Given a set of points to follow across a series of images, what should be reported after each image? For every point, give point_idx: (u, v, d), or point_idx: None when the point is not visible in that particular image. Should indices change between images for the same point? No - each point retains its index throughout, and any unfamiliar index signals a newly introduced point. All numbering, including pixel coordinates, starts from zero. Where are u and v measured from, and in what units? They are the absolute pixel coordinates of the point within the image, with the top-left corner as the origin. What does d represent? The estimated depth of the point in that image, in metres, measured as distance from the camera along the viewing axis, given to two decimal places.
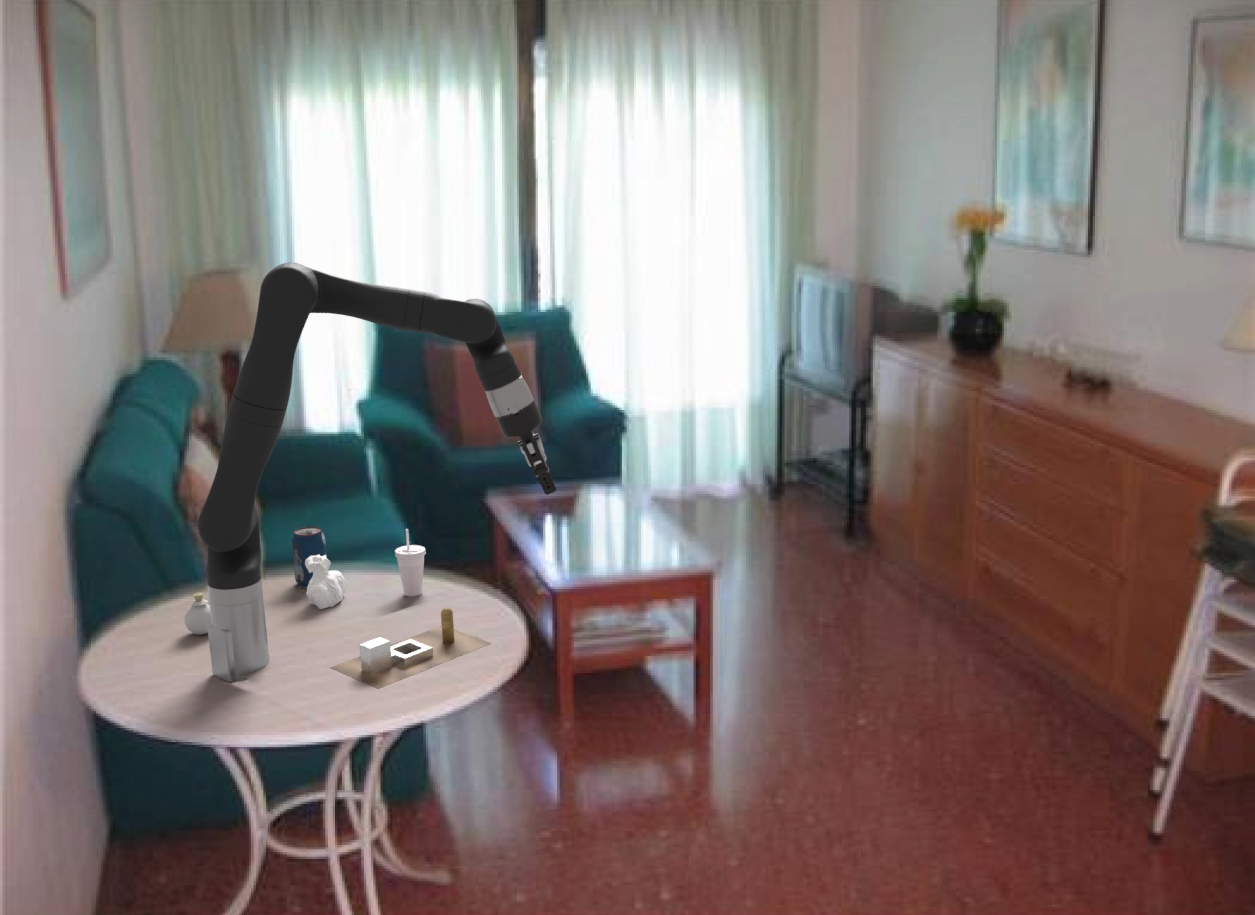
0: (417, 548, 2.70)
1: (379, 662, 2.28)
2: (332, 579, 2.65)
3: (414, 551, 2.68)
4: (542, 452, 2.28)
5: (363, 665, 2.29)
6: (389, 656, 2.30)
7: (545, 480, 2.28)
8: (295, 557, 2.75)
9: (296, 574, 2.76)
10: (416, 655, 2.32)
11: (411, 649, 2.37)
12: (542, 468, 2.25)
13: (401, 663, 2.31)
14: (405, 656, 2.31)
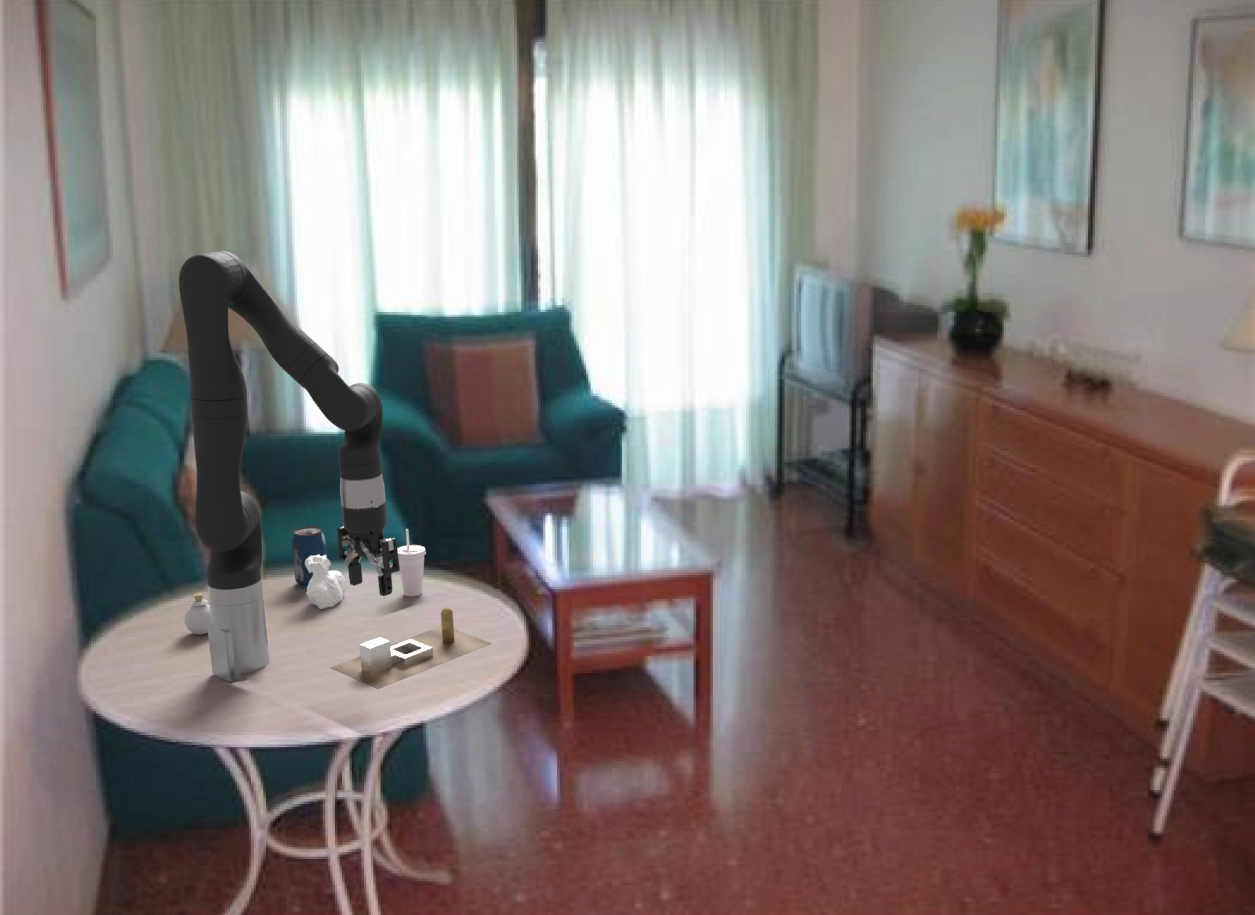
0: (417, 548, 2.70)
1: (379, 662, 2.28)
2: (332, 579, 2.65)
3: (414, 551, 2.68)
4: None
5: (363, 665, 2.29)
6: (389, 656, 2.30)
7: (388, 580, 2.22)
8: (295, 557, 2.75)
9: (296, 574, 2.76)
10: (416, 655, 2.32)
11: (411, 649, 2.37)
12: (395, 567, 2.21)
13: (401, 663, 2.31)
14: (405, 656, 2.31)
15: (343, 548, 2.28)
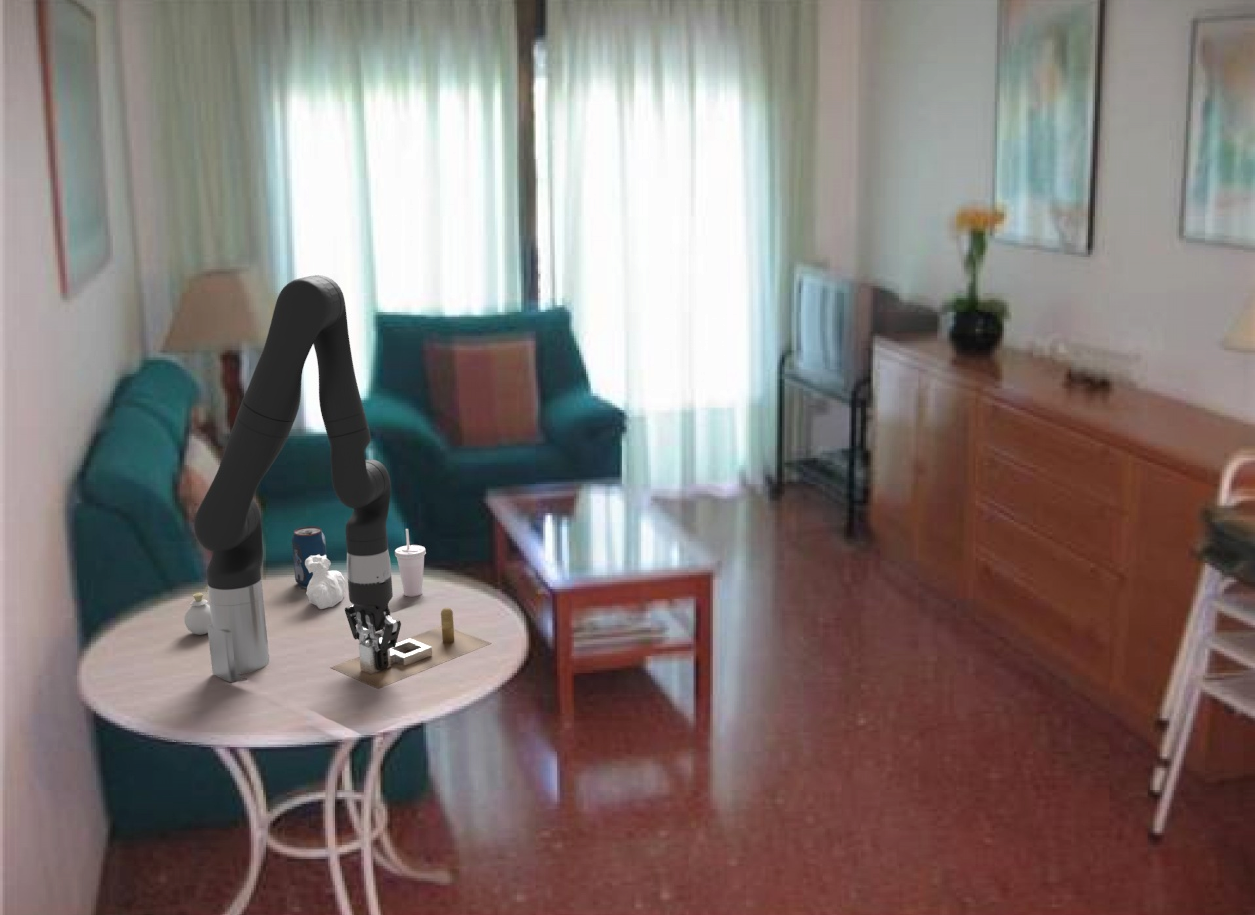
0: (417, 548, 2.70)
1: None
2: (332, 579, 2.65)
3: (414, 551, 2.68)
4: None
5: (362, 664, 2.29)
6: (388, 655, 2.30)
7: (384, 656, 2.27)
8: (295, 557, 2.75)
9: (296, 574, 2.76)
10: (415, 654, 2.32)
11: (410, 648, 2.37)
12: (391, 643, 2.26)
13: (400, 662, 2.31)
14: (404, 655, 2.31)
15: (355, 626, 2.30)
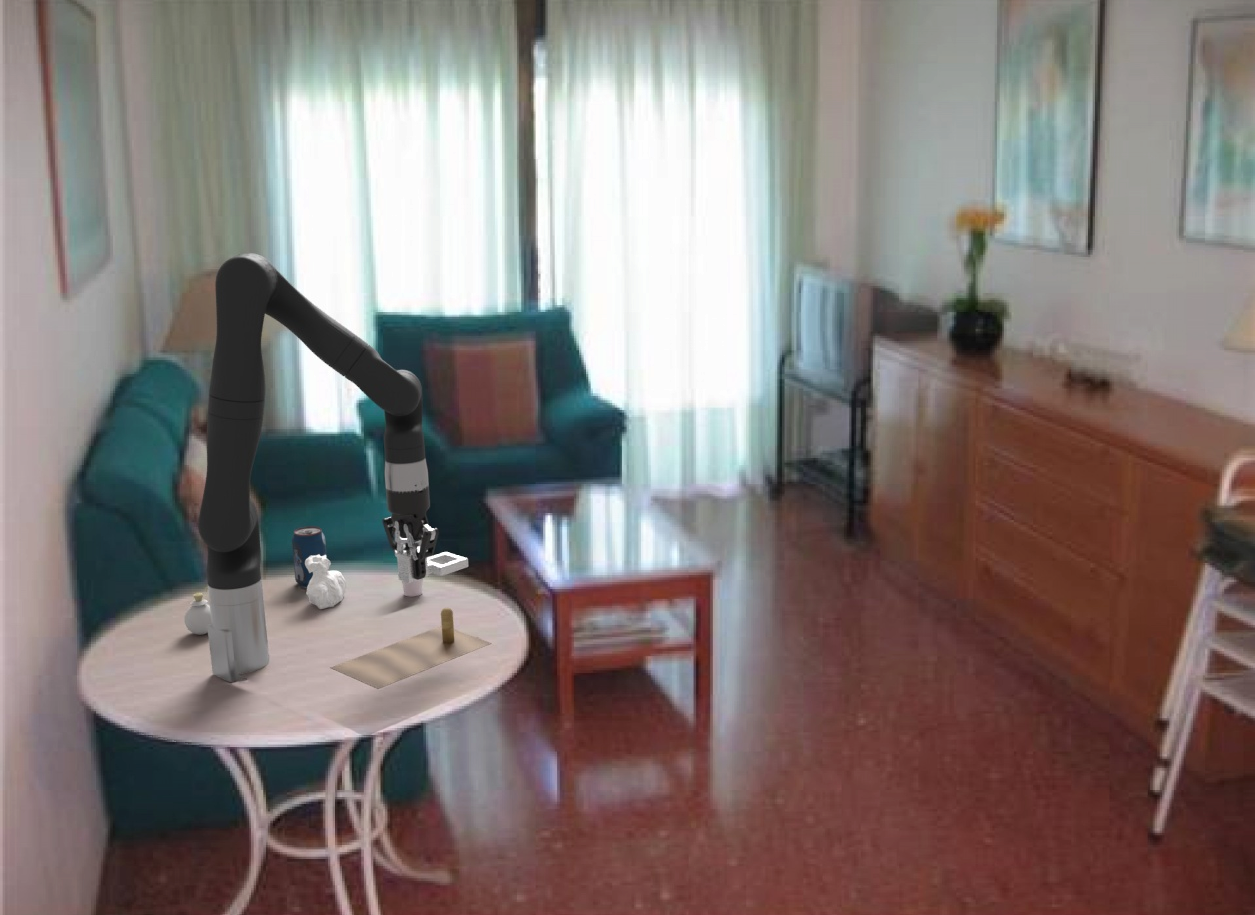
0: None
1: None
2: (332, 579, 2.65)
3: None
4: None
5: (400, 573, 2.32)
6: (426, 565, 2.33)
7: (422, 565, 2.31)
8: (295, 557, 2.75)
9: (296, 574, 2.76)
10: (452, 565, 2.35)
11: (446, 561, 2.41)
12: (429, 552, 2.29)
13: (437, 572, 2.34)
14: (441, 565, 2.34)
15: (392, 537, 2.33)
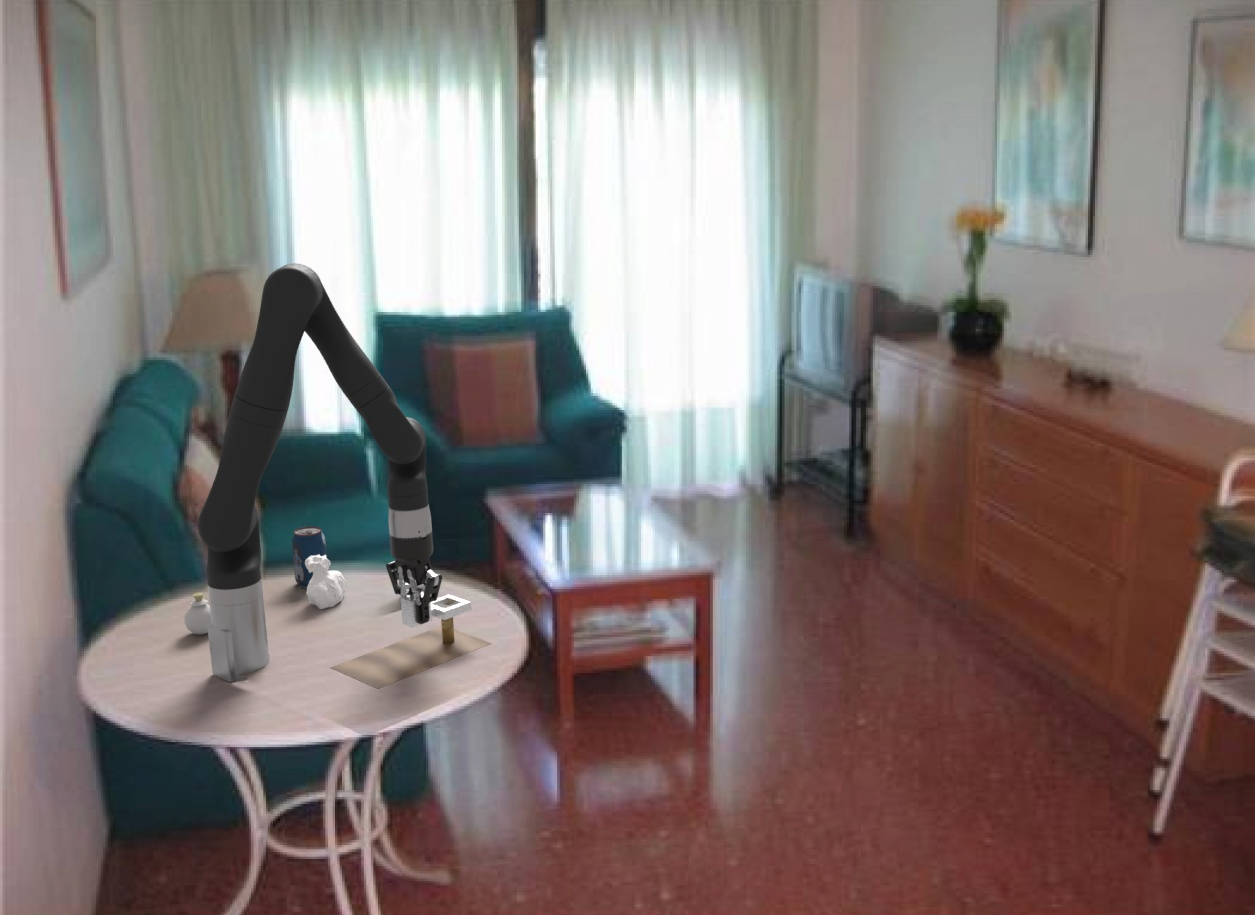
0: None
1: None
2: (332, 579, 2.65)
3: None
4: None
5: (404, 618, 2.34)
6: (429, 609, 2.35)
7: (425, 609, 2.33)
8: (295, 557, 2.75)
9: (296, 574, 2.76)
10: (455, 609, 2.38)
11: (449, 604, 2.43)
12: (432, 597, 2.31)
13: (441, 616, 2.37)
14: (445, 610, 2.36)
15: (396, 582, 2.36)
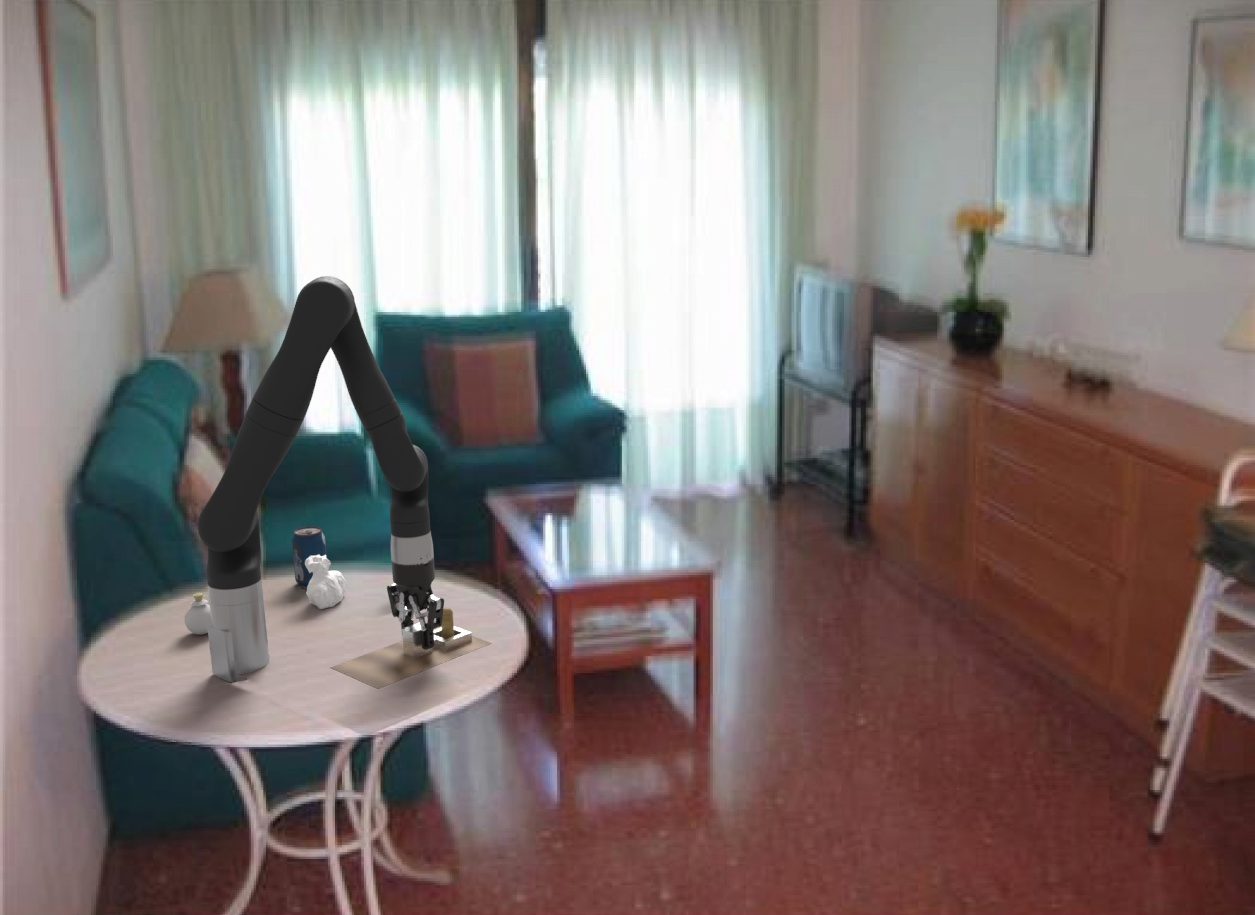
0: None
1: (421, 646, 2.35)
2: (332, 579, 2.65)
3: None
4: None
5: (405, 649, 2.35)
6: None
7: (430, 635, 2.33)
8: (295, 557, 2.75)
9: (296, 574, 2.76)
10: (456, 639, 2.39)
11: None
12: (437, 623, 2.32)
13: (442, 647, 2.38)
14: (446, 640, 2.38)
15: (395, 605, 2.37)
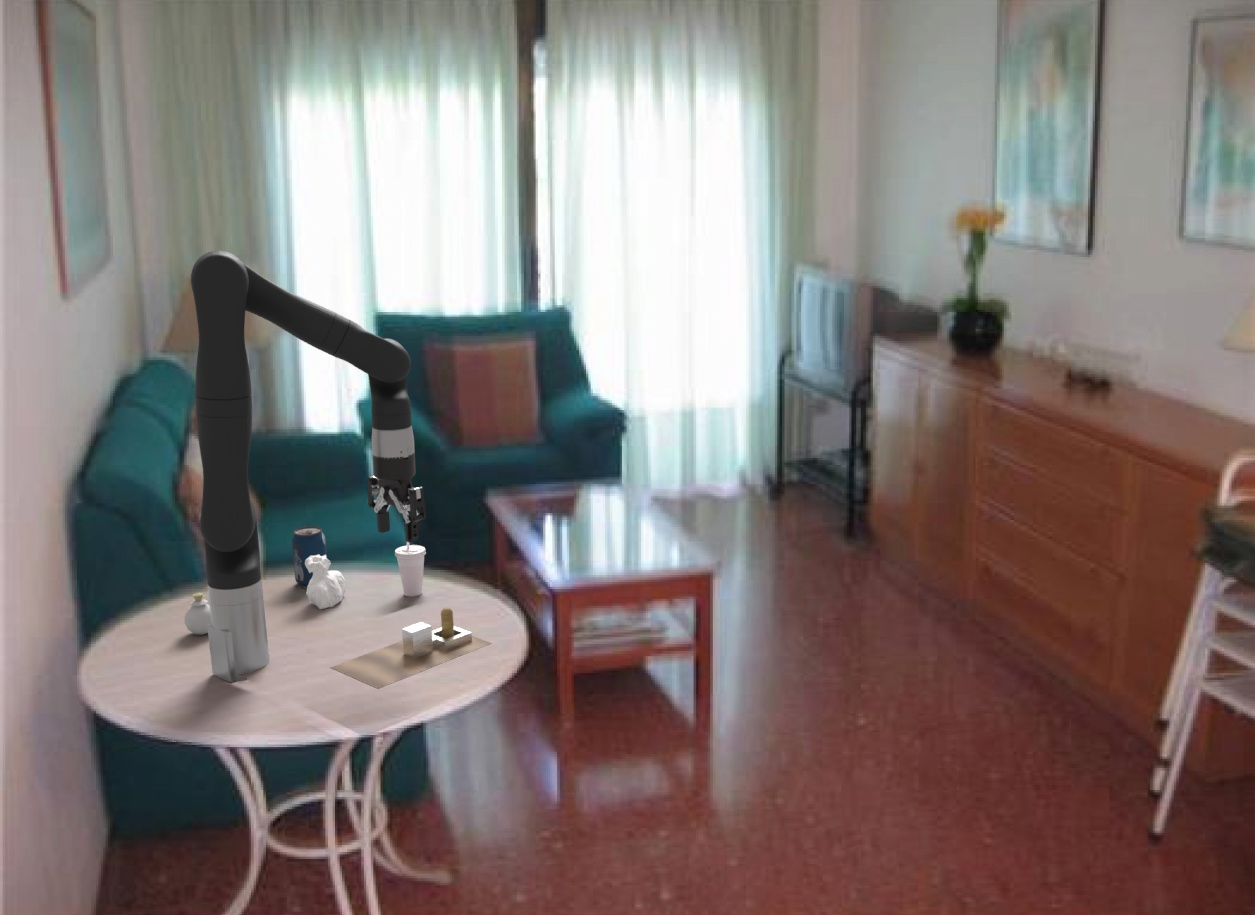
0: (417, 548, 2.70)
1: (421, 646, 2.35)
2: (332, 579, 2.65)
3: (414, 551, 2.68)
4: None
5: (405, 649, 2.35)
6: (430, 640, 2.37)
7: (414, 528, 2.33)
8: (295, 557, 2.75)
9: (296, 574, 2.76)
10: (456, 639, 2.39)
11: None
12: (421, 515, 2.31)
13: (442, 647, 2.38)
14: (446, 640, 2.38)
15: (372, 497, 2.39)
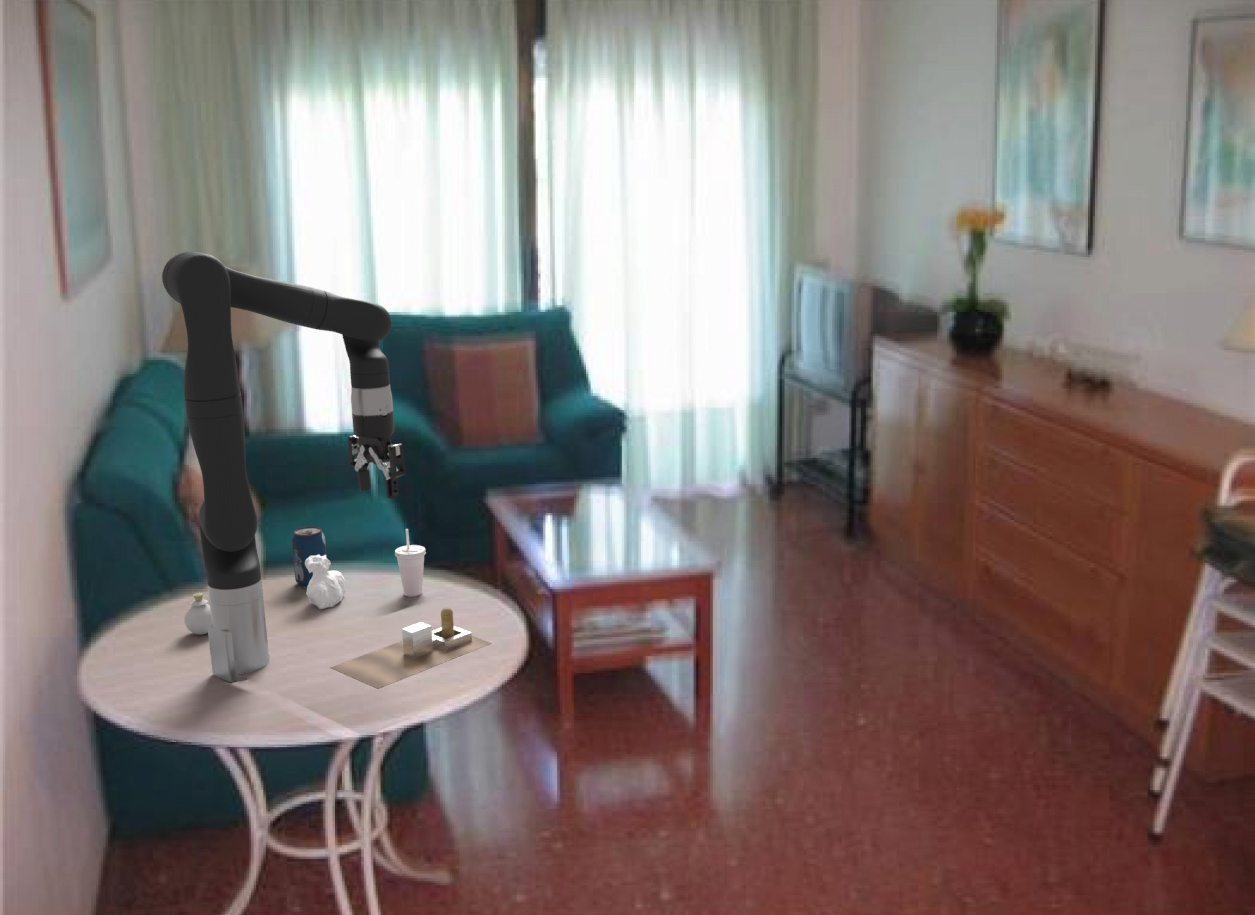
0: (417, 548, 2.70)
1: (421, 646, 2.35)
2: (332, 579, 2.66)
3: (414, 551, 2.68)
4: None
5: (405, 649, 2.35)
6: (430, 640, 2.37)
7: (394, 484, 2.39)
8: (295, 557, 2.75)
9: (296, 574, 2.76)
10: (456, 639, 2.39)
11: None
12: (401, 471, 2.38)
13: (442, 647, 2.38)
14: (446, 640, 2.38)
15: (353, 455, 2.45)
